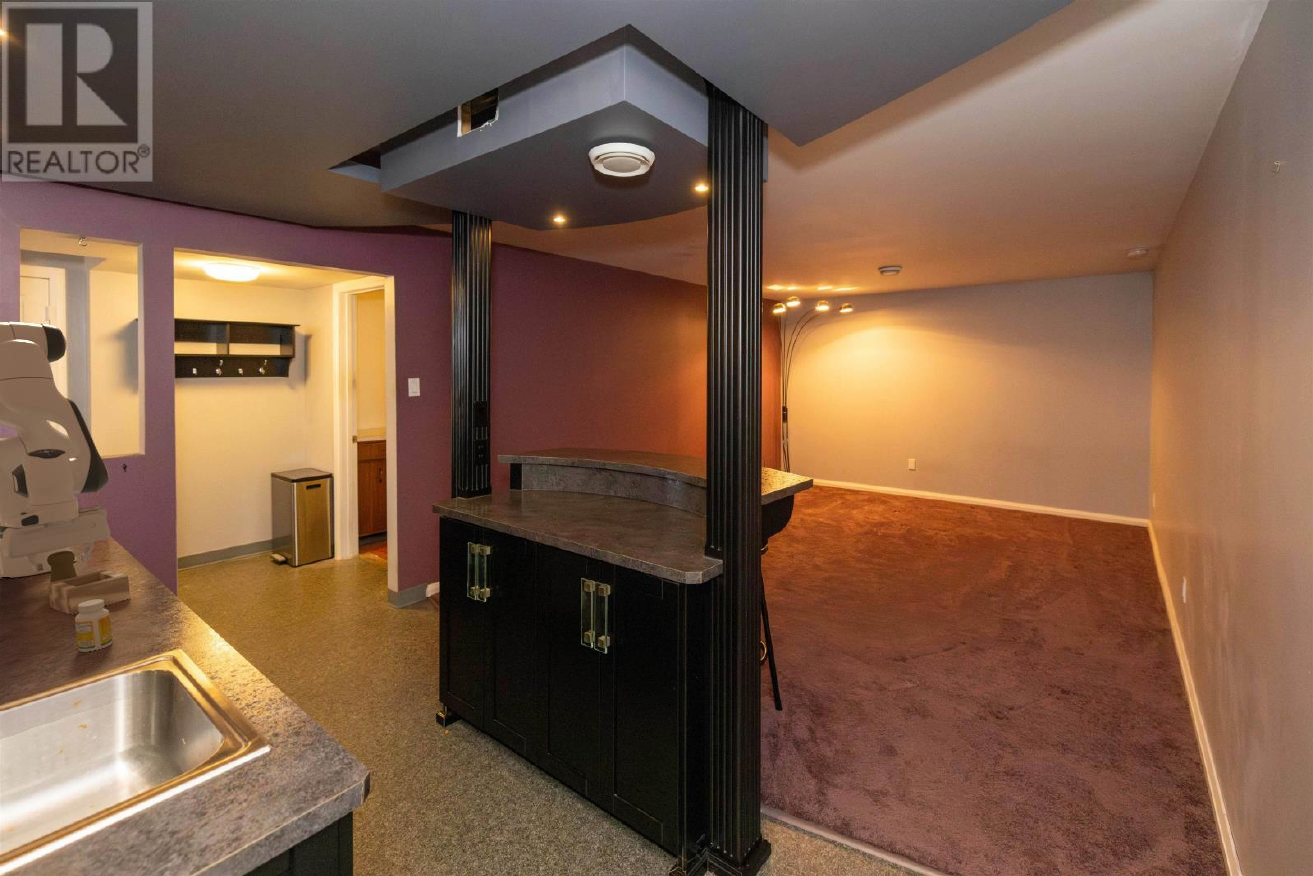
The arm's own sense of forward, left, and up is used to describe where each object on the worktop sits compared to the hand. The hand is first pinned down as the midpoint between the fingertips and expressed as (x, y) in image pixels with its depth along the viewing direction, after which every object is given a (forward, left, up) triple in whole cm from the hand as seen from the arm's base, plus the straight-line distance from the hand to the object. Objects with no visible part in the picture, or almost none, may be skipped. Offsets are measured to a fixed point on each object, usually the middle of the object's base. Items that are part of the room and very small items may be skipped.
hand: (62, 565), depth 160 cm
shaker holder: (+14, 0, -8) cm, 16 cm away
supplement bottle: (+46, -12, -8) cm, 49 cm away
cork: (-1, 0, -8) cm, 8 cm away
